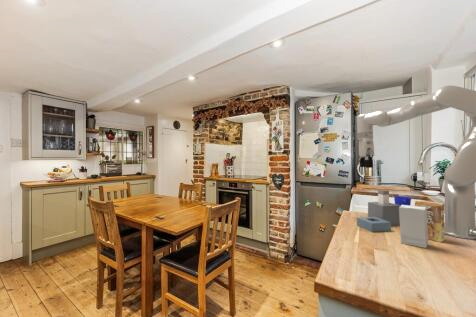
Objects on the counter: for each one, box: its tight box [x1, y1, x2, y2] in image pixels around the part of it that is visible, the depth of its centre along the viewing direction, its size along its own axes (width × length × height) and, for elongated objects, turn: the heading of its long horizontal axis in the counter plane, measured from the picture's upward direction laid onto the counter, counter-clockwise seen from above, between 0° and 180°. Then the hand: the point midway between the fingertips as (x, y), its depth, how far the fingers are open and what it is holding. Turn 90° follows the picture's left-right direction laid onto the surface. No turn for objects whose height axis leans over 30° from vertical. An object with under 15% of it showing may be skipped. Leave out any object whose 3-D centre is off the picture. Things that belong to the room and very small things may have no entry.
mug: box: [393, 195, 412, 206], centre depth 132 cm, size 8×12×10 cm
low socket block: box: [356, 216, 392, 233], centre depth 107 cm, size 10×10×4 cm
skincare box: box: [399, 205, 429, 249], centre depth 87 cm, size 8×6×15 cm
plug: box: [377, 189, 390, 205], centre depth 116 cm, size 3×3×10 cm
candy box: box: [414, 199, 446, 243], centre depth 93 cm, size 9×4×15 cm, turn 33°
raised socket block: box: [367, 201, 400, 227], centre depth 116 cm, size 10×10×10 cm
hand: (366, 167), depth 121 cm, fingers open, 9 cm apart
